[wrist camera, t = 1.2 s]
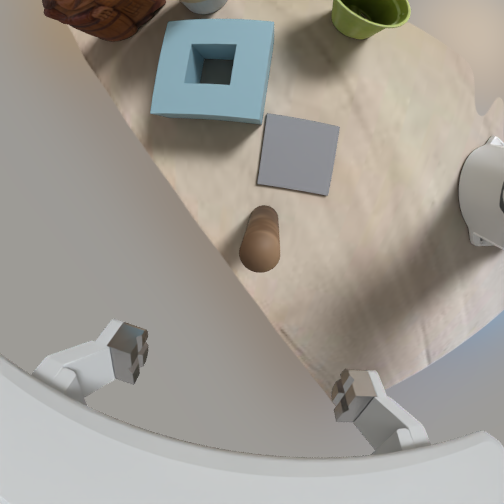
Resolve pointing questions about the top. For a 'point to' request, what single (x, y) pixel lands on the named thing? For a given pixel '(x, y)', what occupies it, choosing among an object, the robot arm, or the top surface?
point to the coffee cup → (203, 5)
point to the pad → (298, 154)
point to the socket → (214, 47)
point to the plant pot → (368, 16)
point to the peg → (261, 240)
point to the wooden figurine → (103, 15)
